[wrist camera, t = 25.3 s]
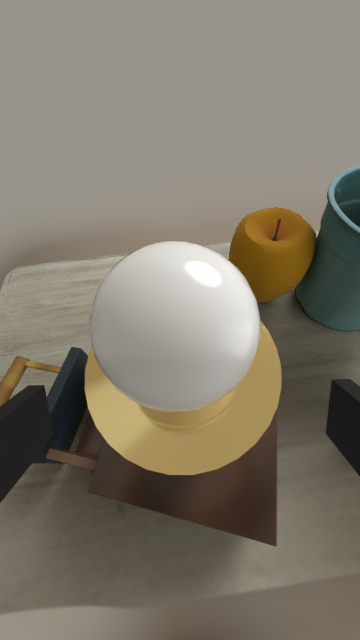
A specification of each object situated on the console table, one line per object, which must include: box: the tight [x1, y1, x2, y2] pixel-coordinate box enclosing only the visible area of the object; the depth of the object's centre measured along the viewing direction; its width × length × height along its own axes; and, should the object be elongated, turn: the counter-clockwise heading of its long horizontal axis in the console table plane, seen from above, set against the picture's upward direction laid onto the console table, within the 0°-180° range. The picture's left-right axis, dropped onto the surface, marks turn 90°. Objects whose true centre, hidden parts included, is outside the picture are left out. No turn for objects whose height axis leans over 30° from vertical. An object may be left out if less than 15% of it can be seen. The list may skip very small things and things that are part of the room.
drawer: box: [0, 347, 105, 471], centre depth 26 cm, size 20×11×7 cm, turn 78°
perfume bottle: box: [85, 241, 282, 475], centre depth 12 cm, size 6×6×20 cm
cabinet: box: [88, 409, 277, 546], centre depth 24 cm, size 15×13×9 cm
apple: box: [229, 208, 316, 303], centre depth 34 cm, size 11×11×13 cm
